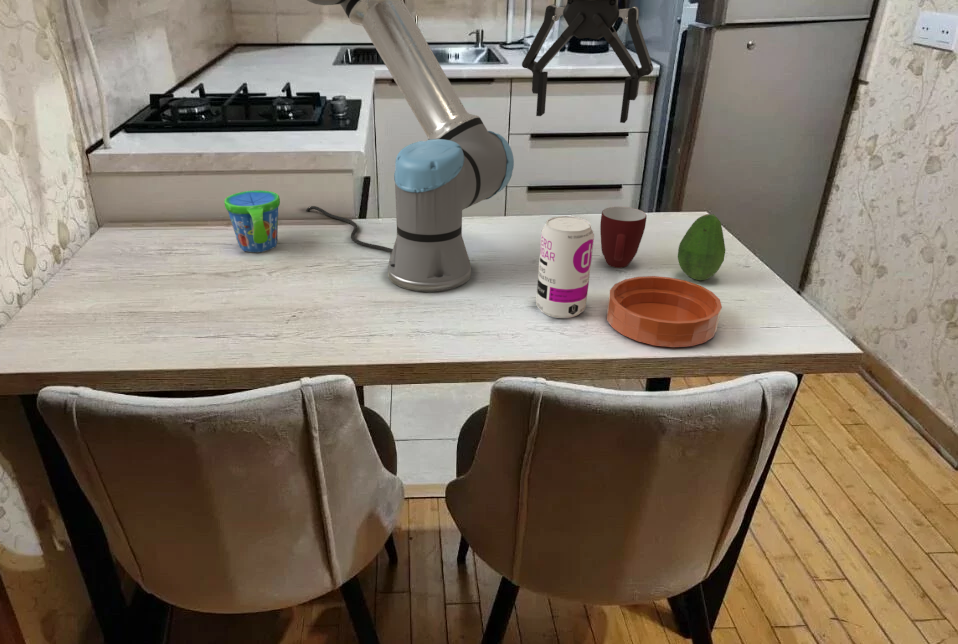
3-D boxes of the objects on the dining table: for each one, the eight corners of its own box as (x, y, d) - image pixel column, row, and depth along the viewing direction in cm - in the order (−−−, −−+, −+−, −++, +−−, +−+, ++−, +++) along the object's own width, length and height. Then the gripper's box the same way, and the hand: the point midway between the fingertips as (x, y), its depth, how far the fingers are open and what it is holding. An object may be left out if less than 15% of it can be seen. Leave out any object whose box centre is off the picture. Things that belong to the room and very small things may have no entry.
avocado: (714, 270, 135) (727, 208, 129) (723, 288, 128) (737, 223, 122) (670, 268, 136) (681, 206, 130) (676, 285, 129) (688, 221, 123)
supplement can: (594, 308, 122) (604, 222, 114) (566, 324, 117) (575, 236, 109) (554, 293, 127) (561, 211, 119) (526, 309, 121) (532, 224, 114)
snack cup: (232, 235, 152) (225, 187, 147) (283, 231, 154) (277, 184, 149) (230, 264, 139) (223, 212, 133) (286, 259, 140) (281, 208, 135)
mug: (643, 279, 132) (651, 227, 127) (598, 277, 133) (604, 225, 128) (636, 256, 141) (643, 207, 136) (594, 255, 142) (600, 205, 137)
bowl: (592, 332, 114) (595, 307, 112) (624, 292, 127) (627, 268, 125) (702, 359, 107) (708, 333, 105) (725, 314, 120) (730, 289, 117)
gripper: (507, -30, 108) (500, 116, 119) (680, -28, 100) (657, 129, 111) (521, -32, 114) (514, 107, 125) (685, -31, 106) (663, 118, 117)
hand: (581, 118), depth 118 cm, fingers open, 13 cm apart
